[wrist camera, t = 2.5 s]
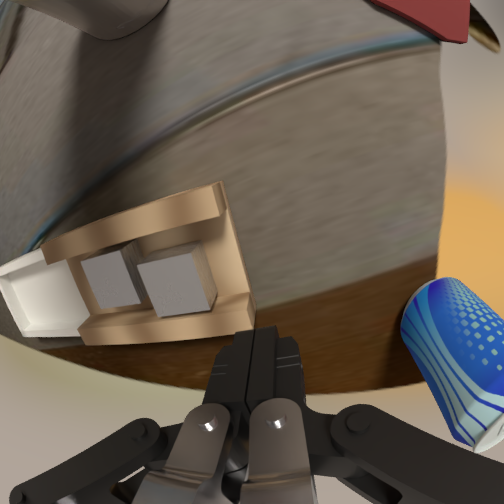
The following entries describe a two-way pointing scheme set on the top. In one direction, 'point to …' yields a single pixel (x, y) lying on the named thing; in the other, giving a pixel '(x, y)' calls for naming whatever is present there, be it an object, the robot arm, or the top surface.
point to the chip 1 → (116, 275)
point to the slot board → (156, 238)
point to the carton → (434, 16)
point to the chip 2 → (179, 279)
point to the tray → (42, 296)
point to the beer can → (459, 358)
